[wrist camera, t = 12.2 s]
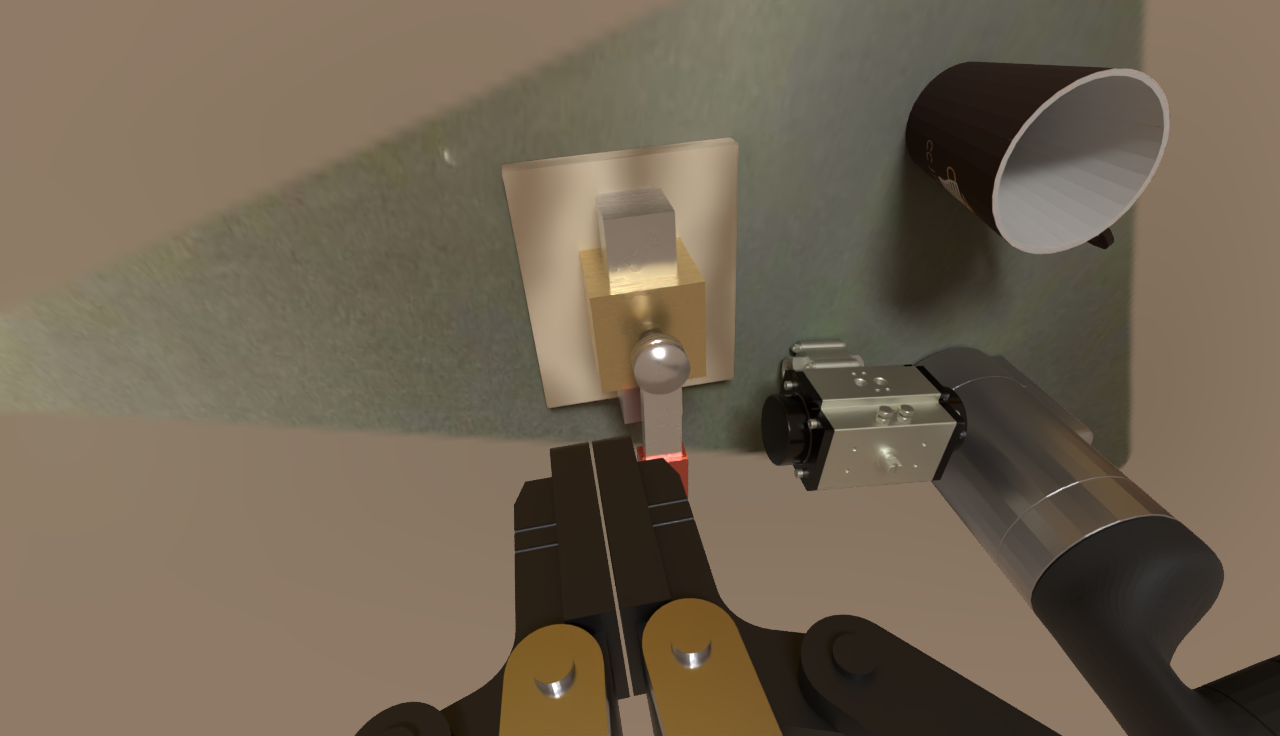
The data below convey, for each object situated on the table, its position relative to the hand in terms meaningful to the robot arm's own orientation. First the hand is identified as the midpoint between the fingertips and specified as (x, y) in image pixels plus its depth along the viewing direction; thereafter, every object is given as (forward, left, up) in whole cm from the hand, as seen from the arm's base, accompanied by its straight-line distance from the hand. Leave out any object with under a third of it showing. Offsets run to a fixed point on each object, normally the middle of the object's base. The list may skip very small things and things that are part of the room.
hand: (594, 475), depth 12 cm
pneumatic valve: (-17, +18, -27) cm, 37 cm away
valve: (-4, +10, -26) cm, 28 cm away
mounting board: (-4, +10, -27) cm, 29 cm away
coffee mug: (-25, +4, -27) cm, 37 cm away
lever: (-4, +14, -18) cm, 23 cm away
